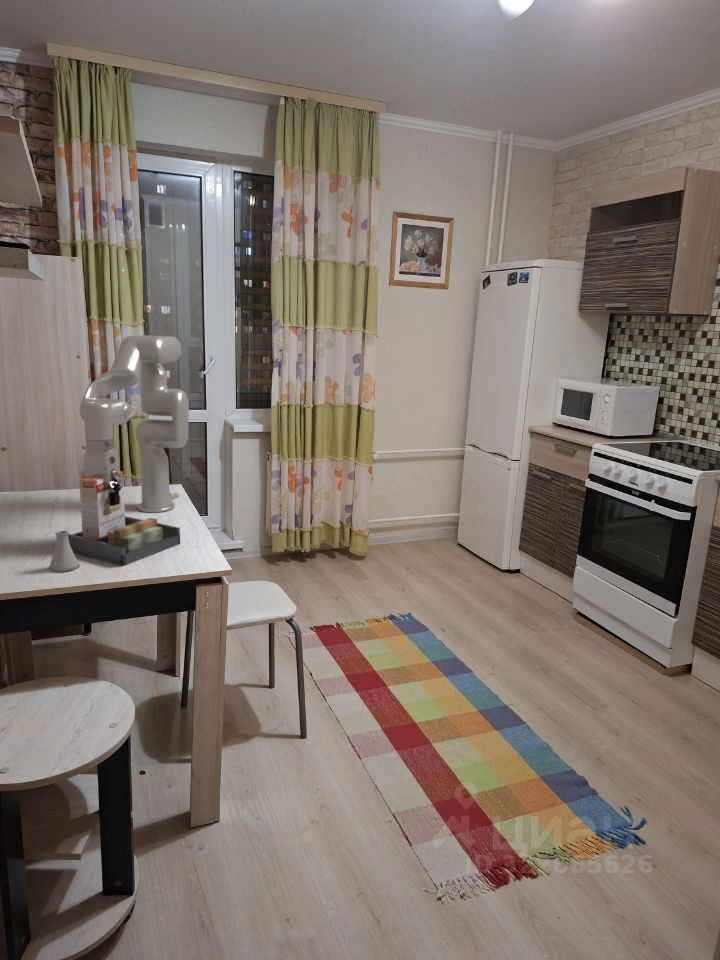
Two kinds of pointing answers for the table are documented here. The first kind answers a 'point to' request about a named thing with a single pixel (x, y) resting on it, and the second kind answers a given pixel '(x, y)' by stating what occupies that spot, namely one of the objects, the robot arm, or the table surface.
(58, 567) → the flask
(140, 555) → the tray
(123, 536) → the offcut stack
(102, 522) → the cracker box
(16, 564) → the table surface
